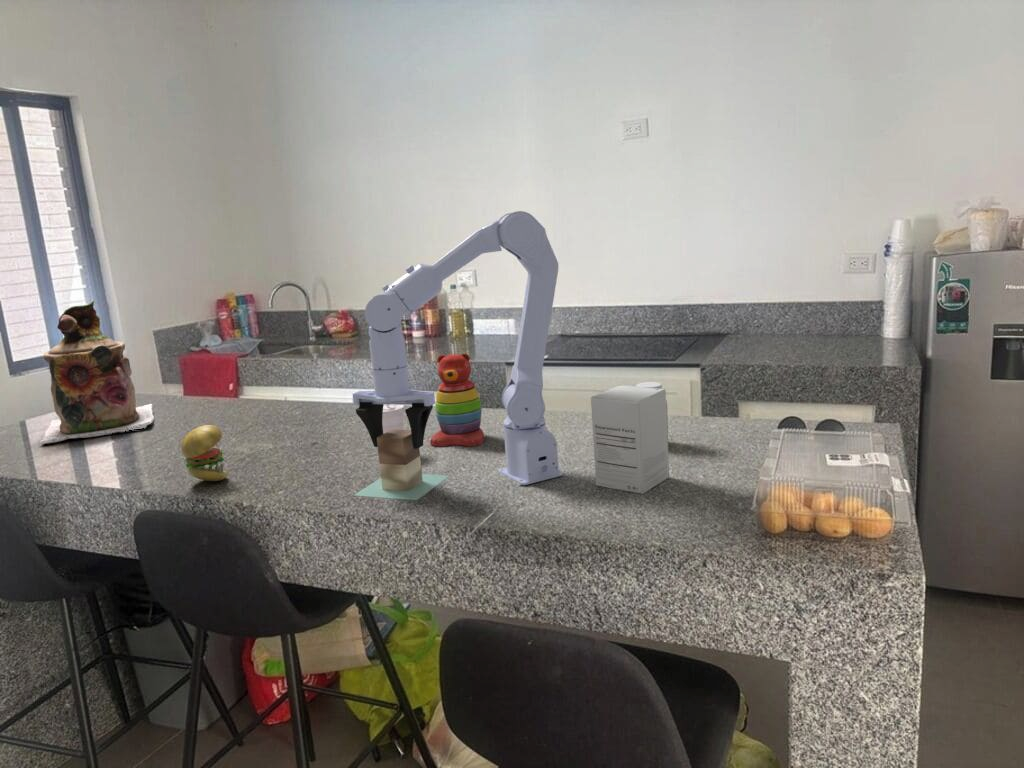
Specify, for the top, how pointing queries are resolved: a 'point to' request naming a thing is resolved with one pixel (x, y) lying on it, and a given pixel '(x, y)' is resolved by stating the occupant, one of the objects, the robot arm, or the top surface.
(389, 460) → the walnut block
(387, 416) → the smoothie
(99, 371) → the cookie jar
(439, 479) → the mat
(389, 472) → the maple block
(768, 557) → the top surface
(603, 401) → the supplement box
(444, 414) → the stacking bear
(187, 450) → the hamburger
